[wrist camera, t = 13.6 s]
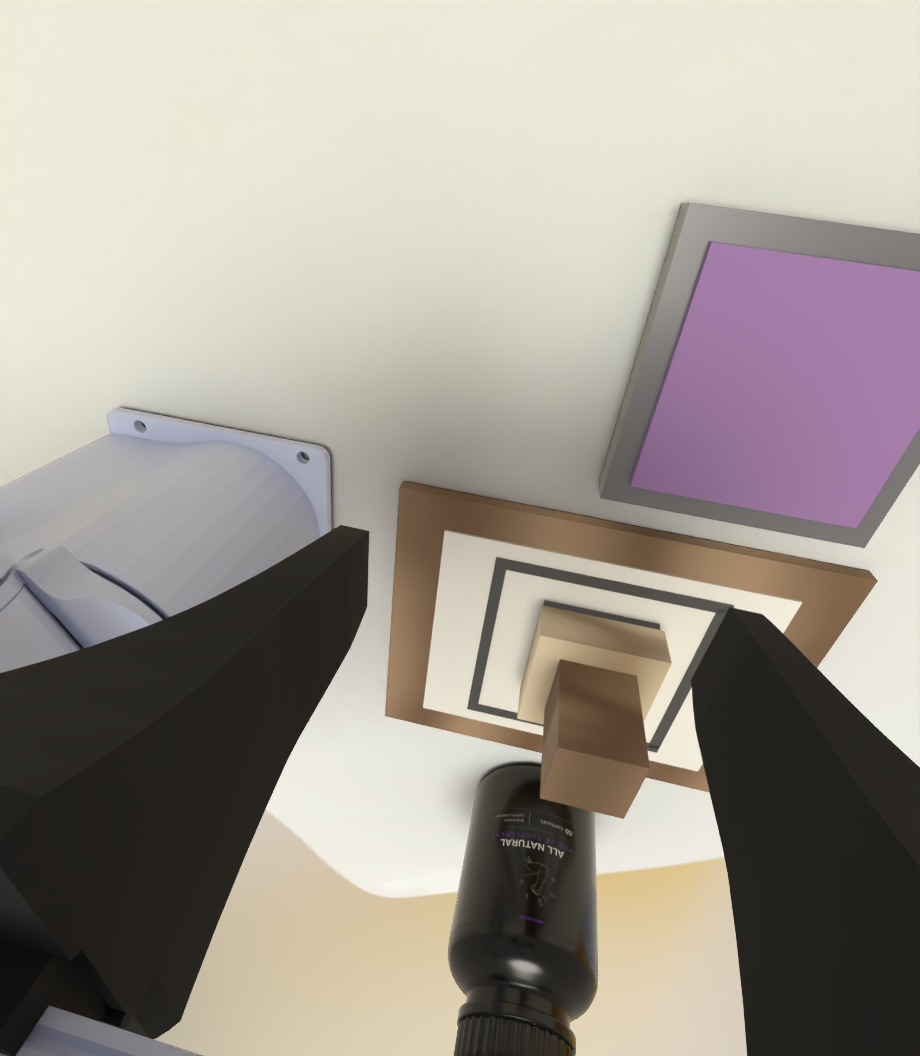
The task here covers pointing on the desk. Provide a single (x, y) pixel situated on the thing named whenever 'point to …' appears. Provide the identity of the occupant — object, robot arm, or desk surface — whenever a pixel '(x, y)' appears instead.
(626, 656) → the stamp
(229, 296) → the desk surface
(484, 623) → the stamp board
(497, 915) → the supplement bottle
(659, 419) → the ink pad
